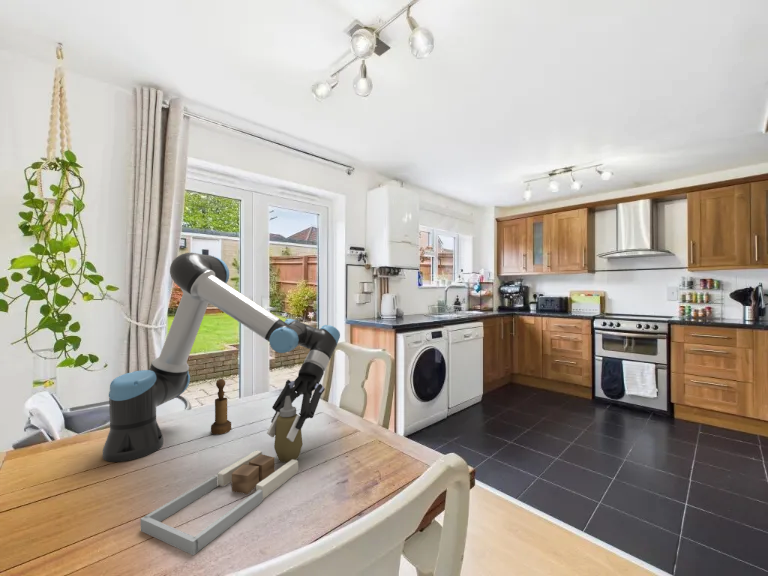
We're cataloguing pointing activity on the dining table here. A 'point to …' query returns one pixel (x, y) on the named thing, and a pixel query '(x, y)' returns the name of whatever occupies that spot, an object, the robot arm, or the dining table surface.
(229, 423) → the wooden pepper mill
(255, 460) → the brown cubic block
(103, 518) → the dining table surface
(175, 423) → the dining table surface
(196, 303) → the robot arm
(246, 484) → the brown cube block
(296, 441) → the squeeze bottle
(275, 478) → the slot rails
